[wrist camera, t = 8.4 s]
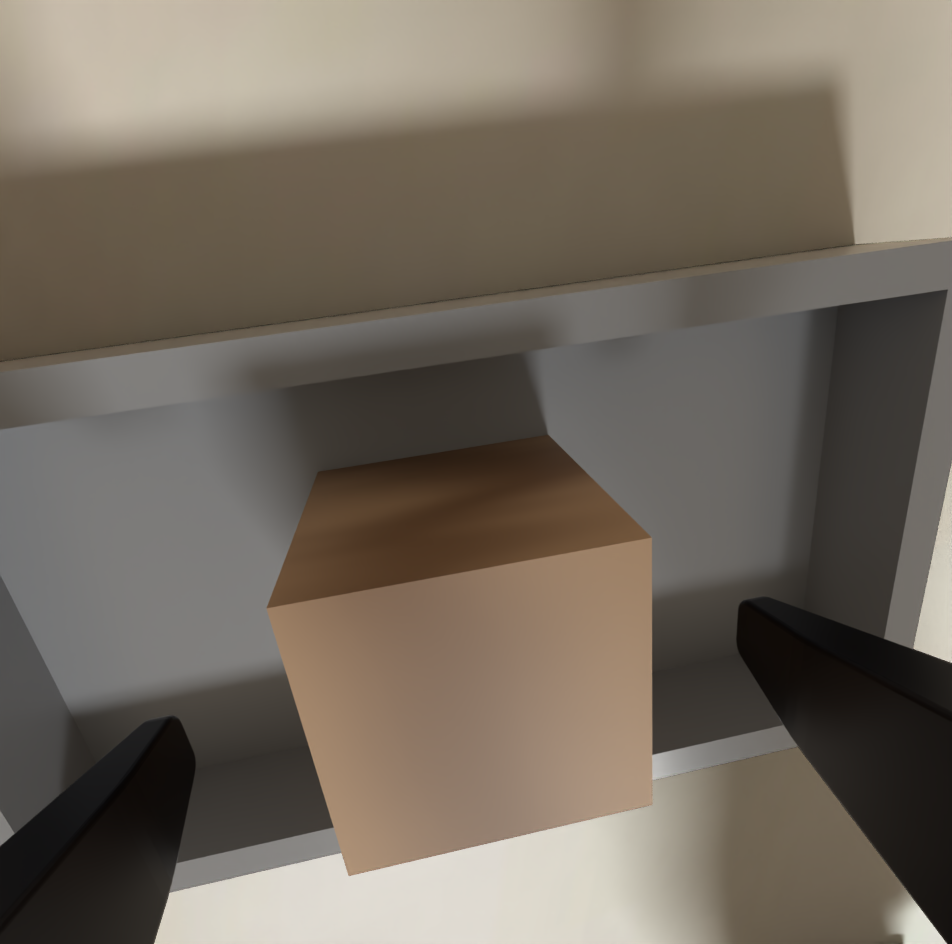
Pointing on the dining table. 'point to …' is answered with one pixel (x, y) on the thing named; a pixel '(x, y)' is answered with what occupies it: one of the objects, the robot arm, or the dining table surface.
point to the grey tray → (444, 429)
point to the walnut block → (468, 649)
